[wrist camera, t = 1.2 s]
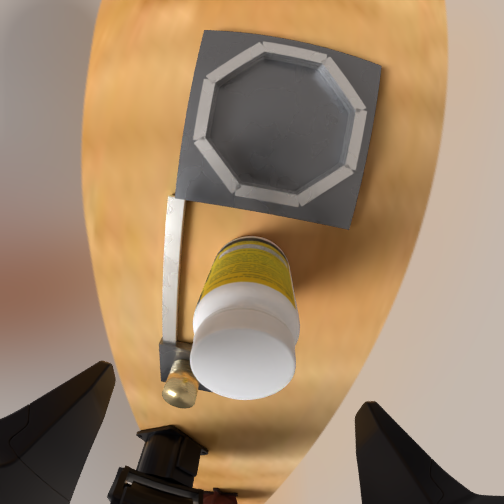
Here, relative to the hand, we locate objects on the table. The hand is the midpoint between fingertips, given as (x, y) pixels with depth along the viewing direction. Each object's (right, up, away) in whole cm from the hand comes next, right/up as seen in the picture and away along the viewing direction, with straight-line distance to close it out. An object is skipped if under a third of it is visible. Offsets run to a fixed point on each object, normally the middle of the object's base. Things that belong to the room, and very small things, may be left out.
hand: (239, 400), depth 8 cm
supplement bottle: (0, +4, +9) cm, 10 cm away
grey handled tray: (+1, +5, +9) cm, 10 cm away
